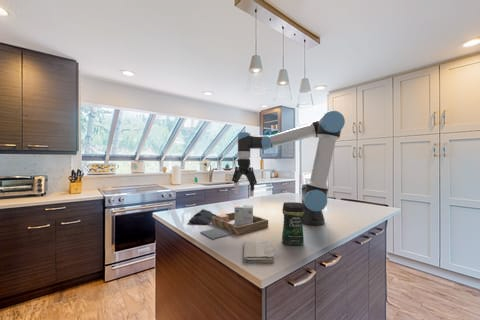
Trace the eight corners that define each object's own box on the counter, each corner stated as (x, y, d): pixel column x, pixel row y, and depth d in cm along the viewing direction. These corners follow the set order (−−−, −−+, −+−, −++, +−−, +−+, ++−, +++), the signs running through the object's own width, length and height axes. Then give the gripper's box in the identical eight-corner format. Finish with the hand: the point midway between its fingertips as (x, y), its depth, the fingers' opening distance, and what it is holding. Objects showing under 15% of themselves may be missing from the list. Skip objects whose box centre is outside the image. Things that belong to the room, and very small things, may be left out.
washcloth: (243, 264, 80) (243, 256, 80) (243, 245, 98) (243, 238, 98) (276, 265, 80) (276, 256, 80) (269, 245, 98) (269, 238, 98)
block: (228, 224, 128) (228, 215, 128) (221, 225, 125) (221, 217, 125) (224, 222, 132) (224, 214, 132) (217, 223, 129) (217, 215, 129)
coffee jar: (283, 246, 96) (283, 204, 96) (280, 239, 104) (280, 200, 104) (305, 246, 96) (305, 204, 96) (301, 239, 104) (301, 200, 103)
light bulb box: (253, 222, 131) (253, 204, 131) (252, 226, 124) (252, 207, 124) (235, 222, 132) (235, 204, 132) (234, 225, 125) (234, 207, 125)
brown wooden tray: (268, 227, 123) (268, 219, 123) (238, 235, 109) (238, 227, 109) (240, 217, 143) (240, 211, 143) (211, 223, 129) (211, 216, 129)
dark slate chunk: (184, 225, 128) (184, 217, 128) (196, 215, 150) (196, 208, 150) (209, 226, 126) (209, 217, 126) (218, 216, 148) (218, 209, 148)
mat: (232, 234, 111) (232, 233, 111) (212, 239, 103) (212, 238, 103) (219, 228, 120) (219, 227, 120) (200, 233, 113) (200, 231, 113)
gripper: (226, 158, 136) (226, 192, 136) (253, 158, 116) (253, 198, 116) (236, 158, 140) (235, 191, 140) (263, 158, 121) (263, 197, 121)
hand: (243, 194), depth 128 cm, fingers open, 13 cm apart
